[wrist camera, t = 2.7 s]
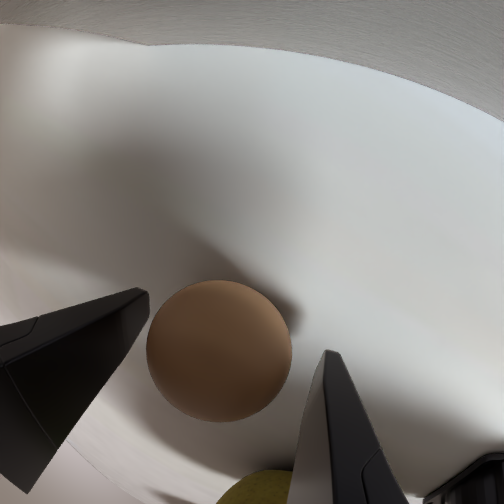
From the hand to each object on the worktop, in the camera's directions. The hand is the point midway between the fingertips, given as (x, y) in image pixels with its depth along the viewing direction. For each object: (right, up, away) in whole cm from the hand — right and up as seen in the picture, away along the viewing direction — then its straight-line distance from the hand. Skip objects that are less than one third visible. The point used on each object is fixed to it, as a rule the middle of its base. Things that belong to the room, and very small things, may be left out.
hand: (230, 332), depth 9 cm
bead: (0, 0, +1) cm, 1 cm away
